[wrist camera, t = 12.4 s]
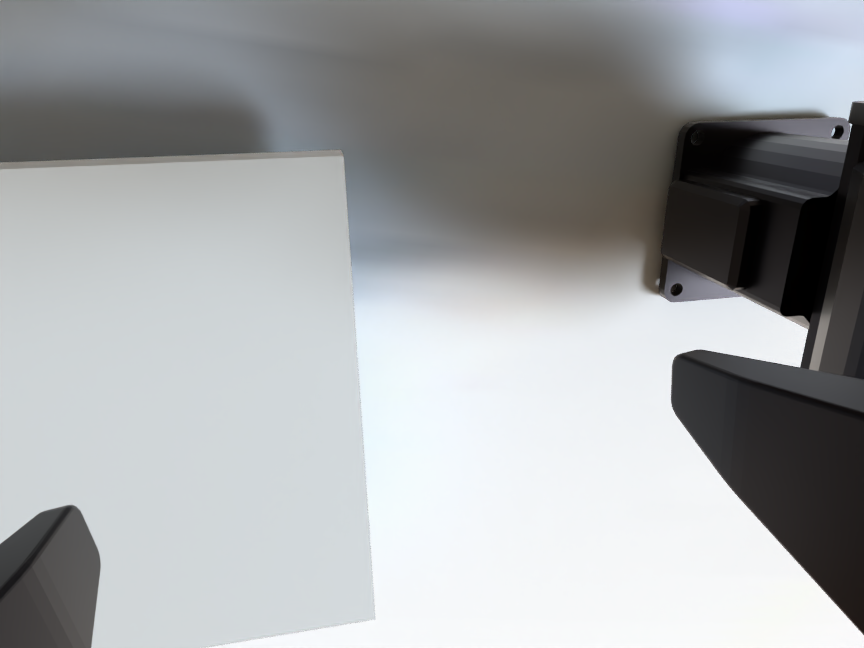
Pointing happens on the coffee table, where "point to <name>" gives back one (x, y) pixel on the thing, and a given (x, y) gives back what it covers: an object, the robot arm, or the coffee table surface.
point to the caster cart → (189, 388)
